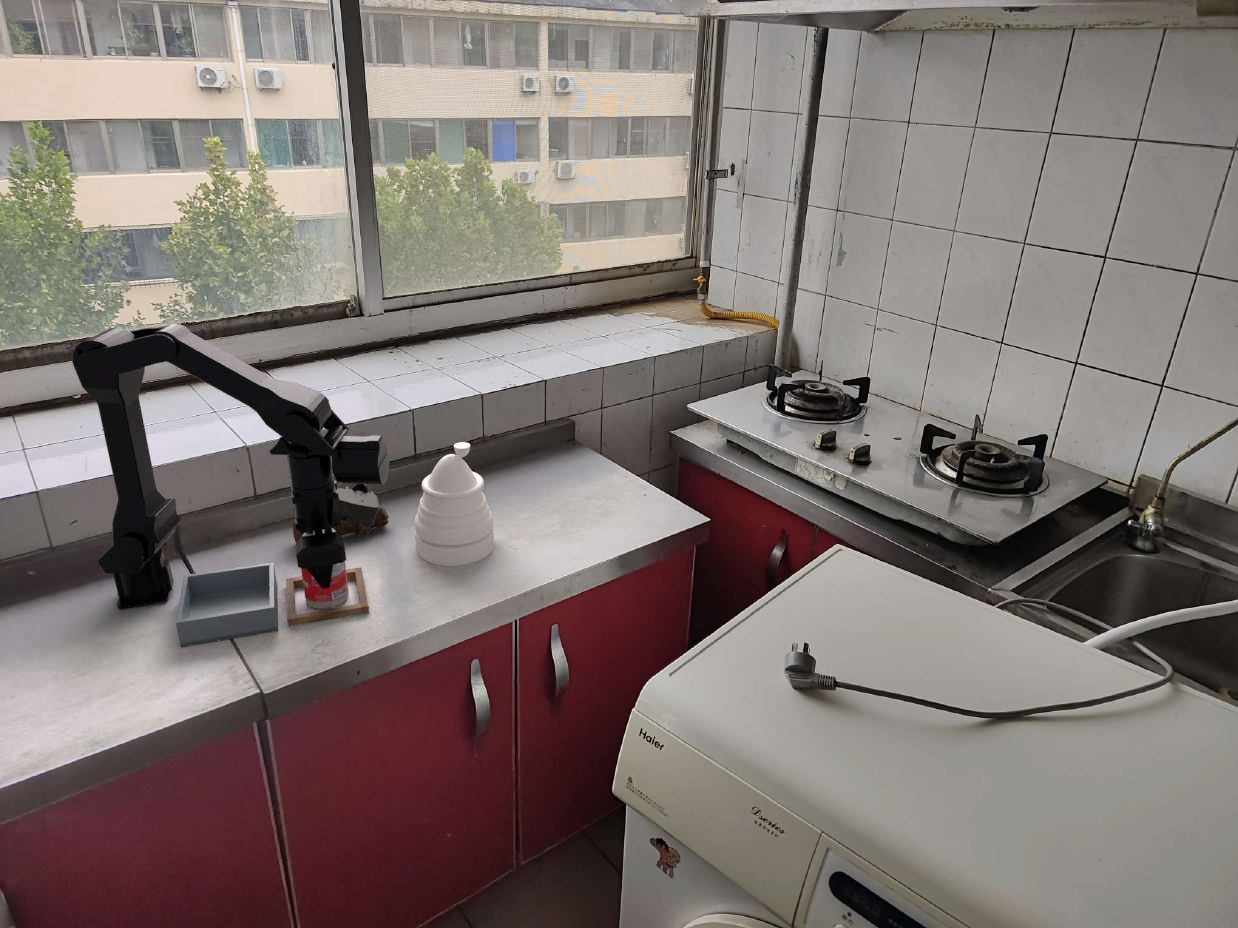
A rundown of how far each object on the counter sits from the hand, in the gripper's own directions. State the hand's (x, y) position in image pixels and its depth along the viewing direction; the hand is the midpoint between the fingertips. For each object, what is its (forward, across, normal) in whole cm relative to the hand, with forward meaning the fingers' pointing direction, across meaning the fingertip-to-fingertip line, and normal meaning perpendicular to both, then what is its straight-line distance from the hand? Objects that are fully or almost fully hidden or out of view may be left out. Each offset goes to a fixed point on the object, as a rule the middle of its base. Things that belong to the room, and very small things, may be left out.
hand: (324, 575), depth 122 cm
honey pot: (+4, +10, -21) cm, 24 cm away
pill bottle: (+4, 0, 0) cm, 4 cm away
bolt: (+4, +18, -4) cm, 19 cm away
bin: (+4, 0, +13) cm, 14 cm away
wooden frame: (+4, 0, 0) cm, 4 cm away
